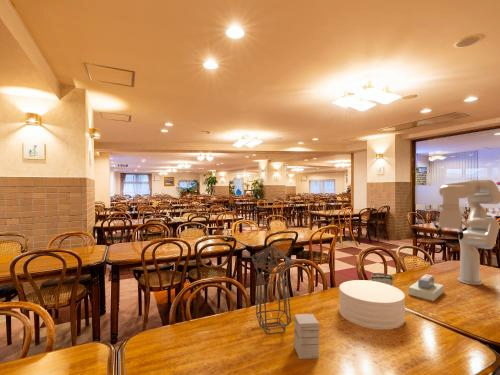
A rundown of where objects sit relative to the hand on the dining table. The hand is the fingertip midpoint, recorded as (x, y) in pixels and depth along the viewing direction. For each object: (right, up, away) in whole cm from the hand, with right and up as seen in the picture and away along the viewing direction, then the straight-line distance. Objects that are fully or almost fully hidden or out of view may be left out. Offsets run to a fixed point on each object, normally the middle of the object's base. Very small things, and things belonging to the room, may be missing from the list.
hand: (450, 237), depth 163 cm
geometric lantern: (-104, -31, -42) cm, 116 cm away
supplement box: (-93, -32, -58) cm, 114 cm away
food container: (-40, -31, 0) cm, 50 cm away
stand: (-15, -30, -2) cm, 34 cm away
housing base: (-15, -26, -2) cm, 30 cm away
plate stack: (-56, -31, -28) cm, 70 cm away
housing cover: (-15, -22, -3) cm, 27 cm away
